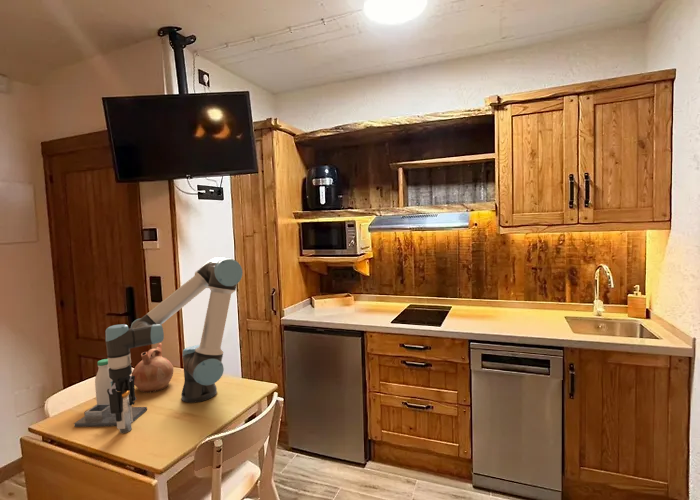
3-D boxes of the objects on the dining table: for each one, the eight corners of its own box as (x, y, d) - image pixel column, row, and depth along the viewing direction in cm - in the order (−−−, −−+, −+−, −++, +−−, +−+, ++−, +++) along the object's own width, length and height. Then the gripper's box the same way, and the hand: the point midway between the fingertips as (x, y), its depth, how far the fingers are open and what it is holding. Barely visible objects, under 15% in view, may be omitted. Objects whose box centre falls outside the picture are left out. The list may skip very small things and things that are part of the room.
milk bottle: (107, 408, 169) (103, 363, 167) (92, 407, 170) (88, 363, 169) (121, 400, 176) (117, 357, 175) (106, 399, 178) (103, 357, 176)
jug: (149, 379, 200) (146, 341, 199) (182, 380, 197) (179, 341, 196) (124, 395, 182) (120, 353, 180) (159, 396, 179) (156, 354, 178)
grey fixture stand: (146, 410, 166) (144, 379, 165) (128, 426, 153) (125, 392, 152) (97, 411, 167) (94, 380, 166) (74, 427, 154) (71, 393, 153)
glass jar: (135, 426, 152) (132, 389, 151) (127, 433, 147) (124, 394, 146) (123, 427, 152) (120, 389, 151) (115, 433, 147) (112, 395, 146)
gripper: (124, 358, 156) (129, 414, 158) (94, 374, 139) (100, 437, 141) (142, 357, 156) (147, 413, 158) (114, 374, 139) (120, 437, 141)
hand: (125, 425), depth 149 cm, fingers closed on glass jar, 4 cm apart
